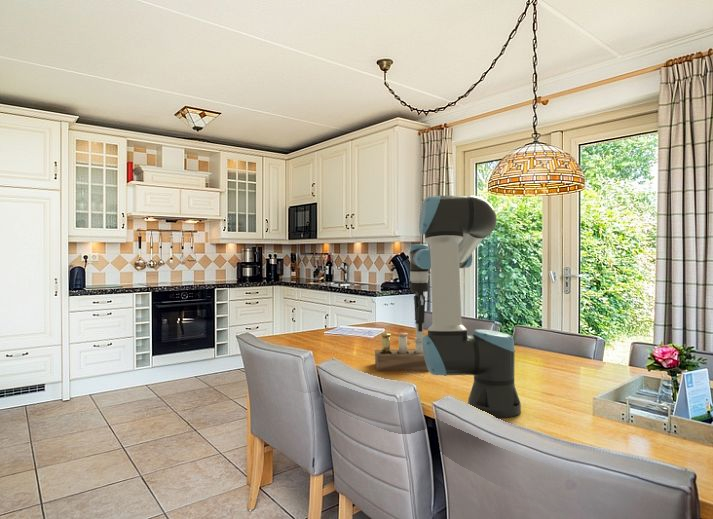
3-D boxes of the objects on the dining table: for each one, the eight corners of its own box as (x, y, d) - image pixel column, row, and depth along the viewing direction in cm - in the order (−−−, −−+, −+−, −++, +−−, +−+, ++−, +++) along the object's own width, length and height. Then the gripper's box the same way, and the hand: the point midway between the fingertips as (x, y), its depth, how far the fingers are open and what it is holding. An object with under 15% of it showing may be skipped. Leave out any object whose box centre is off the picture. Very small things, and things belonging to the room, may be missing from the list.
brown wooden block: (432, 370, 182) (432, 355, 182) (377, 371, 181) (377, 356, 181) (426, 362, 194) (426, 348, 194) (375, 363, 193) (375, 349, 193)
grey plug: (425, 362, 185) (425, 340, 185) (415, 362, 185) (415, 340, 185) (423, 359, 190) (423, 338, 189) (413, 359, 189) (413, 338, 189)
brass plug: (391, 356, 185) (391, 334, 185) (381, 356, 185) (381, 334, 185) (390, 353, 189) (390, 332, 189) (380, 354, 189) (380, 332, 189)
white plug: (408, 355, 185) (408, 334, 185) (398, 356, 185) (398, 334, 185) (407, 353, 189) (407, 332, 189) (397, 353, 189) (397, 332, 189)
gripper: (431, 282, 181) (431, 341, 181) (425, 280, 194) (425, 335, 194) (412, 283, 180) (413, 342, 181) (407, 280, 193) (408, 336, 194)
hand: (419, 338), depth 187 cm, fingers closed
